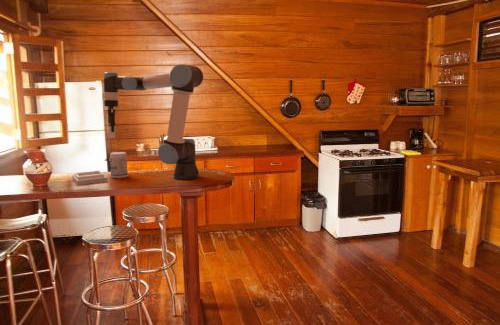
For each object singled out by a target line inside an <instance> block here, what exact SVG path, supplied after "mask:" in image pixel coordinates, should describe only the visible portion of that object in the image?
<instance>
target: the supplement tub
mask: <svg viewBox="0 0 500 325" xmlns="http://www.w3.org/2000/svg"><path fill="white" fill-rule="evenodd" d="M109 163H110V164H109V165H110V167H109V168H110V175H111V178H112V179H124V178H127V177H128V176H129V174H128V156H127V152H125V151H113V152H110V153H109Z"/></svg>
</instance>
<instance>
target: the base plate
mask: <svg viewBox="0 0 500 325" xmlns="http://www.w3.org/2000/svg"><path fill="white" fill-rule="evenodd" d="M71 178H72V180H73V182H74V183H75V184H76V186H81V185H89V184H90V183H92V184H99V183H98V182H100V183H107V182H108V176H106V175H105V173H103V172H102V171H101V170H93V171H92V170H91V171H82V172H74V174H72V175H71ZM90 185H91V184H90Z"/></svg>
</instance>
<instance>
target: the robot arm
mask: <svg viewBox="0 0 500 325" xmlns="http://www.w3.org/2000/svg"><path fill="white" fill-rule="evenodd" d="M103 73H104V74H103V92H104V93H103V94H102V95H103V97H104V98H103V99H104V101H103V102H104V103H103V104H104V107H108V108H107V116H108V118H107V119H108V120H107V121H108V135H109V137H110V139H111V138H113V139H115V138H116V110H115V108H116V107H118V106H119V100H118V99H119V92H118V91H119V90H121V91H147V90H153V89H164V88H165V89H166V88H171V91H172V92H173V94H172V95H173V96H172V101H171V102H172V103H171V108H170V116H169V121H168V128H167V134H166V136H165V137H163V142H162V144H161V145H160V146H158V149H157V155H158V157H159V159H160V161H161V162H162V163H164V165H175V167H174V171H173V173H172V174H173V176H172V178H173V179H175V180H186V181H187V180H194V179H198V178H200V172H199V169H198V165H197V161H196V160H197V158H196V141H195V139H193V138H184V132H185V128H186V121H187V114H188V108H189V102H190V96H191V95H192V94H194V90H195V88H197V87H198V88H199V86H200V85H202V83H203V82H204V73H203V71H202V69H201V68H199V67H198V66H196V65H189V64H182V63H181V64H176V65H175V66H173V67H172V68H171V69H170V71H169V73H164V74H154V75H148V76H139V77H137V76H136V77H135V76H123V75H122V76H120V75H119V74H118V72H112V71H111V72H110V71H107V72H103Z"/></svg>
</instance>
